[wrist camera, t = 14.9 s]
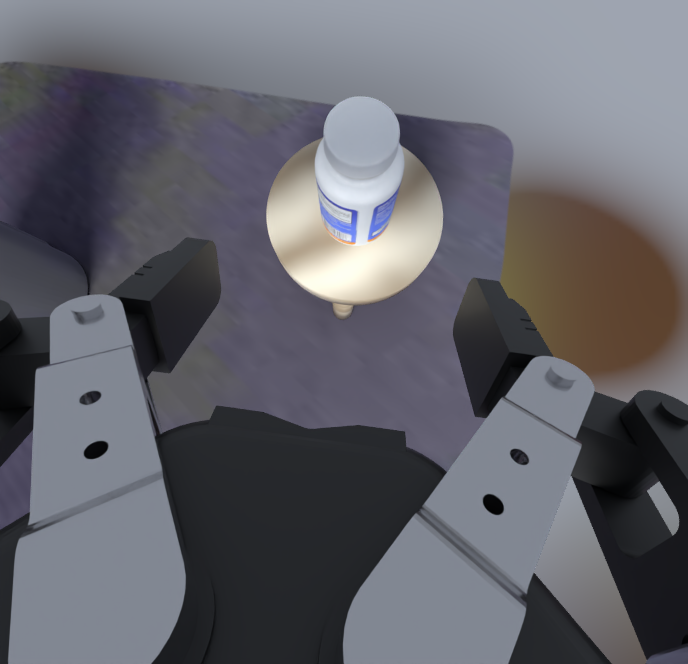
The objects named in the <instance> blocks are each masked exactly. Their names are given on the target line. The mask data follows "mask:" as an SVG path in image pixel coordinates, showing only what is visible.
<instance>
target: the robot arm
mask: <svg viewBox="0 0 688 664" xmlns="http://www.w3.org/2000/svg"><path fill="white" fill-rule="evenodd" d="M87 293H88V283H87V277H86V275H85V272H84V270H83V268H82V267H81V265H80V264H79V262H77V261H76V260H75V259H74V258H73V257H72V256H70V255H68V254H66V253H64V252H62V251H60V250H58V249H56V248H53V247H51V246H49V244H48V243H47V242H45V241H43V240H41V239H39V238H37V237H35V236H33V235H30V234H28V233H26V232H24V231H22V230H20V229H17V228H15V227H13V226H11V225H9V224H7V223H4V222H2V221H0V467H1V466H2V464H3V463H4V462H5V461H6V460H7V459H8V458H9V456H10V455H11V454H12V453H13V452H14V451H15V450H16V448H17V447H18V446H19V445H20V444H21V443H22V442H23V440H24V439H25V438H26V437H27V436H28V435H29V434H30V432H31V431H32V430H33V449H32V474H31V499H30V512H29V513H28V514H26V515H24V516H23V517H21V518H19V519H18V520H16V521H14V522H13V523H11V524H9V525H8V526H6V527H4V528H3V529H1V530H0V664H611V662H610V661H609V660H608V659H607V658H606V657H605V655H604V654H603V653H602V652H601V651H600V650H599V648H598V647H597V646H596V645H595V644H594V642H593V641H592V640H591V639H590V638H589V637H588V635H587V634H586V633H585V632H584V631H583V630H582V628H581V627H580V626H579V625H578V624H577V623H576V621H575V620H574V619H573V618H572V617H571V615H570V614H569V613H568V612H567V611H566V610H565V608H564V607H563V606H562V605H561V604H560V603H559V601H558V600H557V599H556V598H555V597H554V596H553V595H552V593H551V592H550V591H549V590H548V589H547V588H546V586H545V585H544V584H543V583H542V581H541V580H540V579H539V578H538V577H537V576H536V574H535V573H534V570H535V567H536V565H537V562H538V560H539V557H540V554H541V552H542V549H543V546H544V544H545V541H546V538H547V536H548V533H549V531H550V528H551V526H552V523H553V520H554V518H555V515H556V512H557V510H558V507H559V505H560V502H561V499H562V496H563V494H564V491H565V489H566V486H567V483H568V481H569V478H570V476H572V478H573V481H574V483H575V485H576V488H577V490H578V493H579V495H580V498H581V500H582V503H583V505H584V507H585V510H586V512H587V515H588V517H589V519H590V522H591V524H592V527H593V529H594V532H595V534H596V537H597V539H598V542H599V544H600V547H601V549H602V551H603V554H604V556H605V559H606V561H607V564H608V566H609V569H610V571H611V574H612V576H613V578H614V581H615V583H616V586H617V588H618V590H619V593H620V596H621V598H622V600H623V603H624V605H625V608H626V610H627V613H628V615H629V618H630V620H631V622H632V625H633V627H634V630H635V632H636V635H637V637H638V640H639V642H640V644H641V647H642V649H643V652H644V654H645V656H646V659H647V662H646V664H688V405H686V404H685V403H683V402H681V401H679V400H678V399H676V398H674V397H671V396H669V395H666V394H663V393H661V392H656V391H651V390H643V391H640V392H638V393H637V394H636V395H635V396H634V397H633V398H632V399H631V400H630V402H629V403H626V402H623V401H620V400H617V399H614V398H612V397H608V396H606V395H603V394H600V393H597V392H595V391H594V385H593V383H592V381H591V380H590V378H589V377H588V376H587V375H586V374H585V373H584V372H582V371H581V370H580V369H579V368H577V367H576V366H574V365H572V364H571V363H568V362H566V361H564V360H561V359H559V358H555V357H553V355H552V353H551V352H550V350H549V349H548V347H547V345H546V343H545V342H544V340H543V338H542V337H541V335H540V333H539V332H538V331H536V330H537V328H536V327H535V325H534V324H533V322H531V318H530V317H529V315H528V313H527V312H526V310H525V309H524V308H523V307H522V306H520V305H519V304H518V303H517V302H516V301H515V300H513V299H509V298H508V297H507V295H506V293H505V291H504V289H503V287H502V286H501V284H500V282H499V281H494V280H487V279H480V278H473V279H471V281H470V282H469V284H468V287H467V289H466V292H465V295H464V297H463V300H462V303H461V305H460V308H459V311H458V313H457V316H456V319H455V322H454V327H453V337H454V341H455V345H456V349H457V352H458V356H459V360H460V363H461V367H462V371H463V374H464V378H465V382H466V385H467V389H468V393H469V396H470V400H471V404H472V407H473V411H474V415H475V417H482V418H486V420H485V421H484V423H483V424H482V425H481V427H480V428H479V429H478V431H477V432H476V434H475V435H474V436H473V438H472V439H471V440H470V442H469V443H468V445H467V446H466V447H465V449H464V450H463V451H462V453H461V454H460V455H459V457H458V458H457V460H456V461H455V462H454V464H453V465H452V466H451V468H450V469H449V471H448V472H446V471H445V470H444V469H443V468H442V467H440V466H439V465H438V464H436V463H435V462H434V461H432V460H431V459H429V458H428V457H426V456H424V455H423V454H421V453H419V452H417V451H415V450H413V449H410V448H408V447H406V438H405V432H404V431H397V430H390V429H383V428H375V427H368V426H361V425H356V426H343V427H331V428H319V429H307V428H304V427H301V426H298V425H296V424H293V423H291V422H288V421H285V420H283V419H280V418H277V417H275V416H272V415H269V414H267V413H264V412H259V411H252V410H245V409H237V408H230V407H223V406H216V407H215V410H214V412H213V414H212V416H211V418H210V420H205V421H199V422H194V423H189V424H186V425H182V426H179V427H176V428H174V429H171V430H168V431H166V432H164V433H163V432H162V428H161V425H160V421H159V417H158V414H157V410H156V407H155V403H154V399H153V396H152V392H151V388H150V385H149V382H148V379H147V377H148V376H149V374H150V373H151V372H152V371H156V372H163V373H171V371H172V370H173V368H174V367H175V365H176V364H177V362H178V361H179V360H180V358H181V357H182V355H183V354H184V352H185V351H186V349H187V348H188V346H189V345H190V344H191V342H192V341H193V339H194V338H195V336H196V335H197V333H198V332H199V330H200V329H201V327H202V326H203V325H204V323H205V322H206V320H207V319H208V317H209V316H210V314H211V313H212V311H213V310H214V309H215V307H216V306H217V304H218V302H219V299H220V294H221V283H220V275H219V267H218V259H217V251H216V246H215V244H214V242H213V241H210V240H202V239H195V238H188V237H187V238H185V239H184V240H183V241H182V242H181V243H179V244H178V245H177V246H176V247H175V248H174V249H173V250H171V251H167V252H164V253H162V254H159V255H157V256H155V257H153V258H152V259H150V260H149V261H148V262H147V263H146V264H144V265H143V268H142V267H141V268H140V269H138V270H137V271H136V272H135V274H134V275H131V276H130V277H129V278H128V279H126V280H125V281H124V282H123V283H122V284H120V285H119V286H118V287H117V288H116V289H114V290H113V291H112V292H111V293H110V294H108V295H88V296H87ZM659 481H660V483H661V484H662V486H663V488H664V489H665V491H666V492H667V494H668V496H669V497H670V499H671V500H672V502H673V504H674V505H675V507H676V509H677V512H678V514H679V528H678V530H677V532H676V534H675V535H673V536H672V534H671V532H670V531H669V529H668V527H667V525H666V524H665V522H664V520H663V518H662V517H661V515H660V513H659V511H658V510H657V508H656V506H655V504H654V503H653V501H652V499H651V497H650V496H649V494H648V492H647V490H648V489H650V488H651V487H652V486H653V485H655V484H656V483H657V482H659Z"/></svg>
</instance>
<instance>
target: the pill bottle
mask: <svg viewBox="0 0 688 664" xmlns="http://www.w3.org/2000/svg"><path fill="white" fill-rule="evenodd" d="M323 135H324V137H323V139H322V140H321V142H320V144H319V146H318V149H317V152H316V156H315V175H316V182H317V189H318V196H319V203H320V210H321V217H322V221H323V224H324V226H325V228H326V230H327V231H328V233H329V234H330V235H331V236H332V237H333V238H334V239H335V240H337V241H339V242H341V243H343V244H346V245H351V246H362V245H366V244H369V243H372V242H373V241H375V240H377V239H378V238H379V237H380V236H381V235H382V234H383V233H384V231H385V230H386V228H387V226H388V224H389V221H390V218H391V215H392V211H393V208H394V205H395V201H396V198H397V194H398V191H399V187H400V184H401V181H402V177H403V172H404V154H403V150H402V147H401V145H400V143H399V138H400V127H399V123H398V120H397V118H396V116H395V114H394V113H393V111H392V110H391V109H390V108H389V107H388V106H387V105H386V104H385V103H383V102H381V101H380V100H377V99H375V98H371V97H367V96H356V97H351V98H348V99H346V100H344V101H341V102H340V103H338V104H337V105H336V106H335V107H334V108H333V109H332V110H331V111H330V112H329V114H328V116H327V118H326V121H325V124H324V132H323Z"/></svg>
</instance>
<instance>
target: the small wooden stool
mask: <svg viewBox="0 0 688 664" xmlns="http://www.w3.org/2000/svg"><path fill="white" fill-rule="evenodd" d="M322 139H323V138H321V139H319V140H316V141H314V142H312V143H310V144H309V145H307V146H305V147H303V148H302V149H301V150H299V151H298V152H297V153H296V154H294V155H293V156H292V157H291V158H290V159H289V160H288V161H287V162H286V164H285V165H284V166H283V168H282V169H281V170H280V172H279V173H278V175H277V177H276V179H275V180H274V183H273V185H272V188H271V190H270V194H269V198H268V204H267V227H268V232H269V236H270V240H271V243H272V245H273V248H274V250H275V252H276V254H277V256H278V258H279V260H280V262H281V264H282V265H283V267H284V268H285V270H286V272H287V273H288V274H289V275H290V276H291V277H292V279H293V280H294V281H295V282H296V283H298V284H299V285H300V286H301V287H302V288H303V289H305V290H306V291H308V292H309V293H311V294H313V295H315V296H317V297H319V298H321V299H323V300H326V301H329V302H332V303H333V313H334V315H335V316H336V317H337V318H338V319H341V320H345V319H347V318H349V317H350V316H351V314H352V310H353V306H354V305H367V304H372V303H377V302H380V301H383V300H386V299H388V298H390V297H392V296H395V295H396V294H398V293H399V292H401V291H403V290H404V289H405V288H407V287H408V286H409V285H410V284H411V283H412V282H413V281H414V280H415V279H416V278H417V277H418V276H419V275H420V274H421V272H422V271H423V270H424V269H425V267H426V266H427V265H428V263H429V262H430V260H431V259H432V257H433V255H434V253H435V251H436V249H437V247H438V243H439V240H440V237H441V232H442V227H443V210H442V202H441V198H440V194H439V191H438V189H437V186H436V184H435V182H434V180H433V178H432V176H431V174H430V173H429V171H428V170H427V169H426V167H425V166H424V165H423V164H422V163H421V161H420V160H419V159H418V158H417V157H416V156H414V155H413V154H412V153H411V152H410V151H408V150H407V149H405V148H404V147H402V146H401V147H402V150H403V154H404V172H403V177H402V181H401V184H400V187H399V191H398V194H397V198H396V201H395V205H394V208H393V211H392V215H391V218H390V221H389V224H388V226H387V228H386V230H385V231H384V233H383V234H382V235H381V236H380V237H379V238H378V239H377V240H375V241H373V242H372V243H369V244H366V245H362V246H351V245H346V244H343V243H341V242H339V241H337V240H335V239H334V238H333V237H332V236H331V235H330V234H329V233H328V231H327V230H326V228H325V226H324V224H323V221H322V217H321V210H320V203H319V196H318V189H317V182H316V175H315V156H316V152H317V149H318V146H319V144H320V142H321V140H322Z"/></svg>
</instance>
